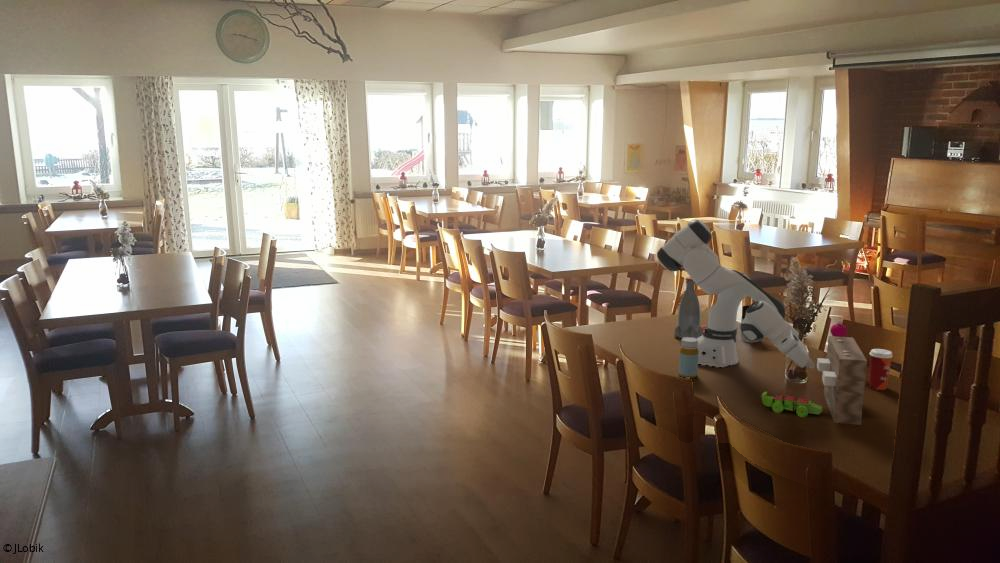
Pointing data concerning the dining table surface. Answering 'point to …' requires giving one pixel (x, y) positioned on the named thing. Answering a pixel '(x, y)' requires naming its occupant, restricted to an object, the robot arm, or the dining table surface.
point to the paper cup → (879, 368)
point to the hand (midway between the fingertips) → (813, 366)
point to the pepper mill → (838, 330)
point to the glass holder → (741, 322)
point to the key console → (846, 380)
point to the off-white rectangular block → (829, 378)
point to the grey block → (823, 364)
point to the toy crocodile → (791, 404)
